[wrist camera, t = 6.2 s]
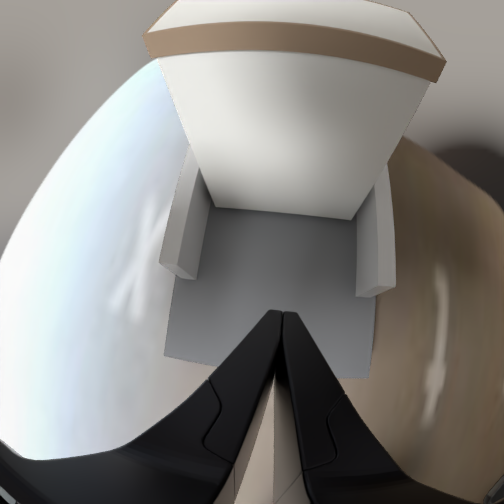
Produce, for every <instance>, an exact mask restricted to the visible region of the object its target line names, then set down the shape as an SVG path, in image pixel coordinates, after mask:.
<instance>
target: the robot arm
mask: <svg viewBox="0 0 504 504" xmlns="http://www.w3.org/2000/svg"><path fill="white" fill-rule="evenodd" d="M274 375H275V377H274ZM273 380H274V486H273V504H479V503H474V502H471V501H468V500H464V499H461V498H458V497H455V496H453V495H450V494H447V493H444V492H442V491H439V490H436V489H434V488H431V487H429V486H426V485H424V484H422V483H419V482H417V481H416V480H414V479H412V478H411V477H409V476H408V475H407V474H406V473H405V472H404V471H403V470H401V468H400V467H399V466H398V465H397V464H396V462H395V461H394V460H393V459H392V457H391V456H390V455H389V454H388V452H387V451H386V450H385V449H384V447H383V446H382V445H381V444H380V442H379V441H378V440H377V439H376V437H375V436H374V435H373V434H372V432H371V431H370V430H369V428H368V427H367V426H366V424H365V423H364V422H363V420H362V419H361V417H360V416H359V414H358V413H357V411H356V409H355V408H354V406H353V405H352V403H351V401H350V400H349V398H348V396H347V395H346V394H345V391H344V390H343V388H342V386H341V385H340V383H339V381H338V380H337V378H336V376H335V375H334V373H333V371H332V369H331V368H330V366H329V364H328V363H327V361H326V359H325V358H324V356H323V354H322V353H321V351H320V349H319V348H318V346H317V344H316V343H315V341H314V339H313V338H312V336H311V334H310V333H309V331H308V329H307V328H306V326H305V324H304V323H303V321H302V319H301V318H300V316H299V314H298V313H297V312H291V311H284V312H282V311H281V310H273V309H270V310H268V311H267V312H266V313H265V315H264V316H263V317H262V318H261V319H260V320H259V322H258V323H257V324H256V325H255V326H254V327H253V328H252V330H251V331H250V332H249V333H248V334H247V335H246V336H245V338H244V339H243V340H242V341H241V342H240V343H239V344H238V345H237V347H236V348H235V349H234V350H233V351H232V352H231V353H230V354H229V355H228V357H227V358H226V359H225V360H224V361H223V362H222V363H221V364H220V365H219V366H218V368H217V369H216V370H215V371H214V372H213V373H212V374H211V375H210V376H209V377H208V380H205V381H204V382H203V383H202V384H201V386H200V387H199V388H198V389H197V390H196V391H195V392H194V393H193V394H192V395H190V396H189V397H188V398H187V399H186V400H185V401H184V402H183V403H182V404H180V405H179V406H178V407H177V408H176V409H174V410H173V411H172V412H171V413H169V414H168V415H167V416H165V417H164V418H163V419H161V420H160V421H159V422H157V423H156V424H155V425H153V426H152V427H151V428H149V429H148V430H146V431H145V432H144V433H142V434H141V435H139V436H138V437H137V438H135V439H134V440H132V441H131V442H129V443H127V444H125V445H123V446H121V447H119V448H116V449H113V450H110V451H105V452H100V453H95V454H89V455H83V456H76V457H69V458H61V459H51V460H32V459H26V458H24V457H22V456H21V455H19V454H18V453H17V452H16V451H14V450H13V449H12V448H11V447H9V446H8V445H7V444H6V443H5V442H3V441H2V440H1V439H0V504H234V501H235V499H236V497H237V494H238V491H239V488H240V486H241V483H242V480H243V477H244V474H245V471H246V468H247V466H248V463H249V460H250V457H251V454H252V451H253V448H254V444H255V441H256V438H257V435H258V432H259V429H260V425H261V422H262V419H263V416H264V412H265V409H266V406H267V402H268V399H269V395H270V392H271V388H272V384H273ZM493 504H504V498H502V499H500V500H498V501H496V502H495V503H493Z"/></svg>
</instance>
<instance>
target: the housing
mask: <svg viewBox="0 0 504 504" xmlns="http://www.w3.org/2000/svg"><path fill="white" fill-rule="evenodd" d="M159 263H160V264H161V265H163V266H164V267H166V268H167V269H168V270H170V271H171V272H173V273H174V274H176V278H175V284H174V290H173V296H172V302H171V308H170V314H169V321H168V328H167V335H166V343H165V350H164V356H166V357H171V358H175V359H180V360H185V361H190V362H195V363H200V364H206V365H211V366H217V367H218V366H219V365H220V364H221V363H222V362H223V361H224V360H225V359H226V358H227V357H228V355H229V354H230V353H231V352H232V351H233V350H234V349H235V348H236V347H237V345H238V344H239V343H240V342H241V341H242V340H243V339H244V338H245V336H246V335H247V334H248V333H249V332H250V331H251V330H252V328H253V327H254V326H255V325H256V324H257V323H258V322H259V320H260V319H261V318H262V317H263V316H264V315H265V313H266V312H267V311H268V310H270V309H273V310H281V311H282V312H284V311H291V312H297V313H298V314H299V316H300V318H301V319H302V321H303V323H304V324H305V326H306V328H307V329H308V331H309V333H310V334H311V336H312V338H313V339H314V341H315V343H316V344H317V346H318V348H319V349H320V351H321V353H322V354H323V356H324V358H325V359H326V361H327V363H328V364H329V366H330V368H331V369H332V371H333V373H334V375H335V376H336V378H369V371H370V363H371V355H372V345H373V334H374V321H375V305H376V295H378V294H380V293H383V292H385V291H387V290H390V289H392V288H394V287H396V257H395V233H394V219H393V207H392V197H391V188H390V180H389V173H388V166H387V164H386V165H385V167H384V169H383V170H382V172H381V174H380V175H379V177H378V179H377V180H376V182H375V183H374V185H373V187H372V188H371V190H370V192H369V193H368V195H367V196H366V198H365V199H364V201H363V203H362V204H361V206H360V207H359V209H358V210H357V212H356V214H355V215H354V217H353V218H352V220H344V219H336V218H328V217H319V216H310V215H300V214H291V213H280V212H270V211H259V210H247V209H234V208H221V207H215V205H214V202H213V200H212V197H211V195H210V192H209V190H208V187H207V185H206V183H205V180H204V178H203V175H202V173H201V170H200V168H199V165H198V163H197V160H196V158H195V155H194V153H193V150H192V148H191V145H190V143H189V146H188V149H187V153H186V156H185V159H184V163H183V166H182V170H181V173H180V177H179V180H178V184H177V187H176V191H175V195H174V199H173V202H172V206H171V210H170V214H169V218H168V223H167V227H166V231H165V236H164V240H163V245H162V249H161V254H160V259H159Z"/></svg>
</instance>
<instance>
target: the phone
mask: <svg viewBox="0 0 504 504" xmlns="http://www.w3.org/2000/svg"><path fill="white" fill-rule="evenodd" d="M502 498H504V475H503V476H502V477H501V479H500V480H499V481H498V482H497V483H496V484H495V485H494V487H493V488H492V489H491V490H490V491H489V492H488V494H487V495H486V497H485V499H484V502H483V503H484V504H493V503H495V502H496V501H498V500H500V499H502Z"/></svg>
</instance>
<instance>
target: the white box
mask: <svg viewBox="0 0 504 504" xmlns="http://www.w3.org/2000/svg"><path fill="white" fill-rule="evenodd" d="M142 37H143V39H144V42H145V45H146V47H147V50H148V52H149V55H150V57H151V58H157V61H158V63H159V66H160V69H161V71H162V74H163V76H164V79H165V82H166V84H167V87H168V89H169V92H170V95H171V97H172V100H173V102H174V105H175V107H176V110H177V113H178V115H179V118H180V120H181V123H182V125H183V128H184V130H185V133H186V135H187V138H188V140H189V143H190V145H191V148H192V150H193V153H194V155H195V158H196V160H197V163H198V165H199V168H200V170H201V173H202V175H203V178H204V180H205V183H206V185H207V187H208V190H209V192H210V195H211V197H212V200H213V202H214V205H215V207H221V208H234V209H247V210H259V211H270V212H280V213H291V214H300V215H310V216H319V217H328V218H336V219H344V220H352V218H353V217H354V215H355V214H356V212H357V210H358V209H359V207H360V206H361V204H362V203H363V201H364V199H365V198H366V196H367V195H368V193H369V192H370V190H371V188H372V187H373V185H374V183H375V182H376V180H377V179H378V177H379V175H380V174H381V172H382V170H383V169H384V167H385V165H386V164H387V162H388V160H389V158H390V157H391V155H392V153H393V152H394V150H395V148H396V146H397V145H398V143H399V141H400V139H401V137H402V136H403V134H404V132H405V130H406V128H407V127H408V125H409V123H410V121H411V119H412V117H413V116H414V113H415V112H416V110H417V108H418V106H419V104H420V102H421V100H422V98H423V96H424V94H425V92H426V90H427V88H428V86H429V84H430V82H434V83H436V82H437V80H438V78H439V76H440V74H441V72H442V70H443V68H444V66H445V64H446V62H447V61H446V60H445V58H444V57H443V55H442V54H441V52H440V51H439V50H438V48H437V47H436V45H435V44H434V43H433V41H432V40H431V39H430V37H429V36H428V35H427V33H426V32H425V31H424V29H423V28H422V27H421V26H420V25H419V23H418V22H417V21H416V20H415V19H414V18H413V16H412V15H411V14H410V13H409V12H406V11H403V10H400V9H397V8H393V7H390V6H387V5H383V4H380V3H376V2H372V1H368V0H176V1H175V2H174V3H173V4H171V6H169V7H168V8H167V9H166V10H165V11H164V12H163V13H162V14H161V15H160V16H159V17H158V18H157V20H156V21H155V22H154V23H153V24H152V25H151V26H150V27H149V28H148V29H147V30H146V32H145V33H144V34H143V35H142Z"/></svg>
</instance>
